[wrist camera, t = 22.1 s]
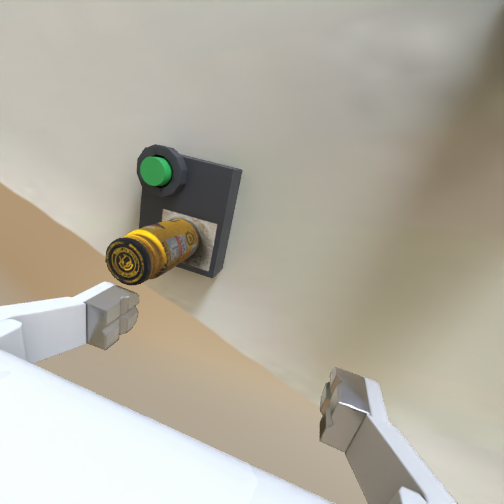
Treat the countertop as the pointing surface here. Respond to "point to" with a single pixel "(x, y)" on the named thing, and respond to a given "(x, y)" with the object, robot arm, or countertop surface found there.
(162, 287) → the countertop surface
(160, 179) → the small green piece
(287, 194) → the countertop surface
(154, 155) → the control panel
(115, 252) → the condiment
